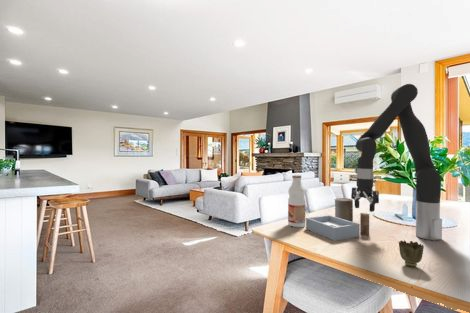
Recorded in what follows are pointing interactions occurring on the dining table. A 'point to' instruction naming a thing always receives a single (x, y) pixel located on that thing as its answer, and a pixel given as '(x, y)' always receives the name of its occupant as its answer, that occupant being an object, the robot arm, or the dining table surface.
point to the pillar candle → (344, 209)
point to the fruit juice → (296, 203)
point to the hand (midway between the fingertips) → (364, 209)
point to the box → (333, 227)
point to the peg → (364, 223)
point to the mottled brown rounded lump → (411, 252)
